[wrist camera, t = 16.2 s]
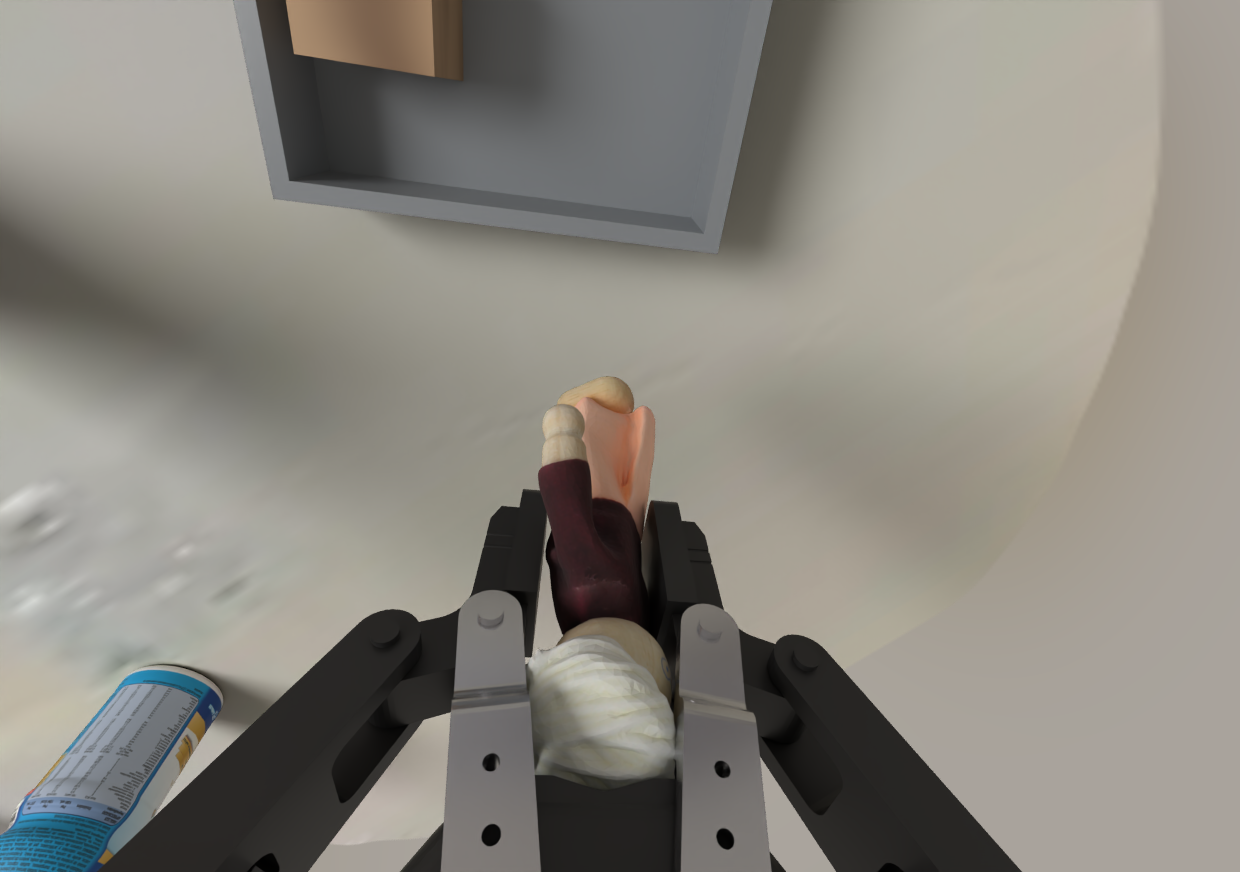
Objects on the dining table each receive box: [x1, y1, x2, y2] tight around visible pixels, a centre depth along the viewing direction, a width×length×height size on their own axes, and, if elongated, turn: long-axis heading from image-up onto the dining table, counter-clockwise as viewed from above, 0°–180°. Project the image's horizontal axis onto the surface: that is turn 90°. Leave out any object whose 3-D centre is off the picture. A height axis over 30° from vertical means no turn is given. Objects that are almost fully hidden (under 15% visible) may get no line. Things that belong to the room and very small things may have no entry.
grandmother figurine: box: [525, 376, 676, 791], centre depth 14 cm, size 8×4×13 cm, turn 21°
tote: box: [233, 0, 773, 254], centre depth 22 cm, size 20×16×5 cm
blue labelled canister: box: [0, 665, 223, 872], centre depth 40 cm, size 8×8×20 cm
